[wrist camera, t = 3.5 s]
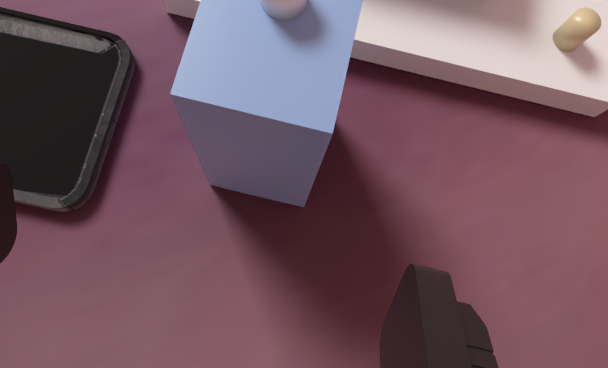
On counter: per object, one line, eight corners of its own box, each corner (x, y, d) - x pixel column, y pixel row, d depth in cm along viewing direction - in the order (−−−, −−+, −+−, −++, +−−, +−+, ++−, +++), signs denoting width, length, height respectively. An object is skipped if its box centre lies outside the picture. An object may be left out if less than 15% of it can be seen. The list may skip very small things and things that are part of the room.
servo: (209, 184, 21) (161, 75, 11) (237, 88, 22) (216, -89, 12) (303, 207, 21) (338, 118, 11) (326, 109, 22) (376, -50, 12)
